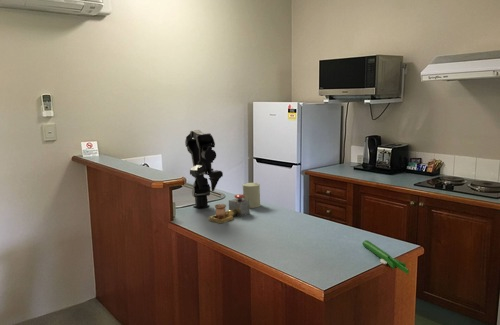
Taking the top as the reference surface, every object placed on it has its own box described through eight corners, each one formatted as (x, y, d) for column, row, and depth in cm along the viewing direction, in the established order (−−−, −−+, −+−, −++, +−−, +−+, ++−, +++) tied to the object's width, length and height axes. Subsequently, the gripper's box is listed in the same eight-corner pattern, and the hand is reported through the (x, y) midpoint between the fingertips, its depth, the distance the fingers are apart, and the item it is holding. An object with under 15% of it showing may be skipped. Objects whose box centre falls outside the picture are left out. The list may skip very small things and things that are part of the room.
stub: (213, 220, 192) (212, 205, 191) (221, 217, 196) (220, 203, 195) (220, 222, 189) (220, 207, 188) (228, 219, 192) (228, 205, 191)
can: (260, 207, 212) (259, 185, 210) (242, 208, 212) (242, 185, 210) (260, 203, 221) (259, 181, 219) (243, 203, 221) (242, 182, 219)
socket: (209, 220, 192) (208, 217, 192) (221, 216, 198) (221, 213, 198) (220, 223, 187) (220, 220, 186) (233, 219, 192) (233, 216, 192)
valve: (221, 216, 198) (220, 198, 197) (238, 211, 207) (238, 193, 205) (233, 219, 193) (232, 200, 191) (250, 213, 201) (249, 195, 200)
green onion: (361, 248, 153) (400, 279, 123) (361, 240, 152) (401, 268, 123) (373, 248, 153) (416, 277, 124) (373, 239, 153) (416, 267, 123)
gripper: (180, 159, 201) (182, 190, 203) (205, 162, 188) (206, 195, 191) (197, 156, 209) (199, 186, 211) (222, 159, 196) (224, 191, 199)
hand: (206, 189), depth 203 cm, fingers open, 9 cm apart
